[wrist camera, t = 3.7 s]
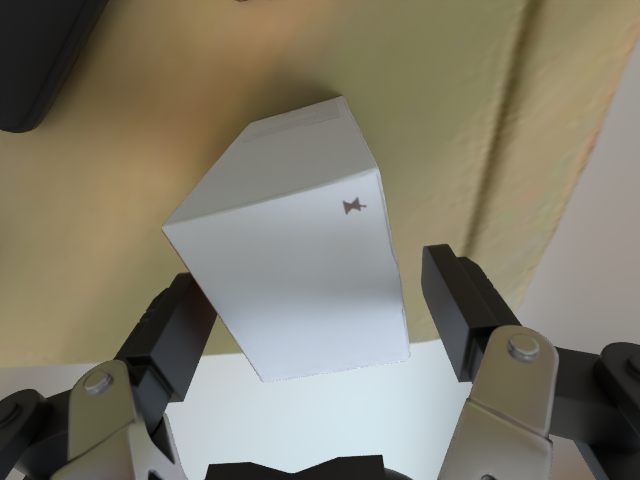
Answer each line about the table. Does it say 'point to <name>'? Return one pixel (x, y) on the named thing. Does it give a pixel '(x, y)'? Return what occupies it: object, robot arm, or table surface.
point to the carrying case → (39, 54)
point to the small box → (297, 246)
